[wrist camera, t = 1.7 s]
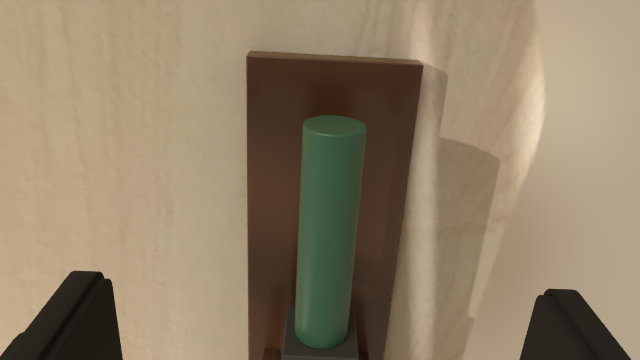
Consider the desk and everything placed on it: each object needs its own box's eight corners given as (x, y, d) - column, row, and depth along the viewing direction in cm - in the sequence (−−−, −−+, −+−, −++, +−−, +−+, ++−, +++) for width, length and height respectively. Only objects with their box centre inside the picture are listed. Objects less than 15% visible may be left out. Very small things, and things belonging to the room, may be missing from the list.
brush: (285, 108, 19) (278, 136, 16) (382, 114, 19) (392, 141, 16) (277, 404, 25) (272, 460, 22) (350, 407, 25) (354, 463, 22)
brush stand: (249, 50, 21) (220, 90, 15) (419, 60, 21) (458, 102, 15) (251, 417, 29) (233, 535, 23) (371, 422, 29) (383, 540, 24)
